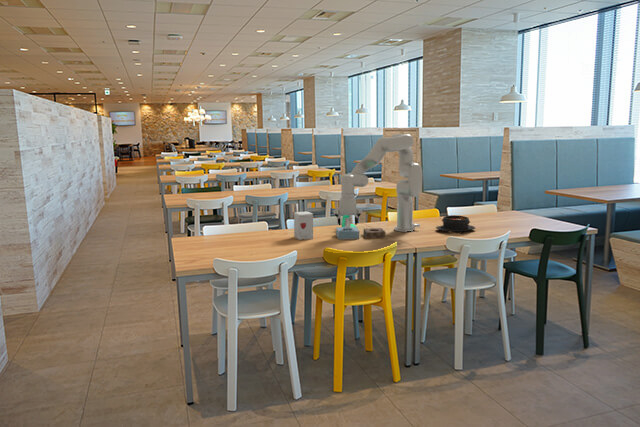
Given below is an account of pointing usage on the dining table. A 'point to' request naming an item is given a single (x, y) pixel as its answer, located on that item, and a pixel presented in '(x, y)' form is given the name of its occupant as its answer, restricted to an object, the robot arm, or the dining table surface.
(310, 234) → the supplement box
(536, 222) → the dining table surface
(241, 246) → the dining table surface
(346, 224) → the steel pin
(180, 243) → the dining table surface
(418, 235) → the dining table surface
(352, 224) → the camera mount
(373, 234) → the walnut mount block
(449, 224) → the casserole
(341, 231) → the socket block
